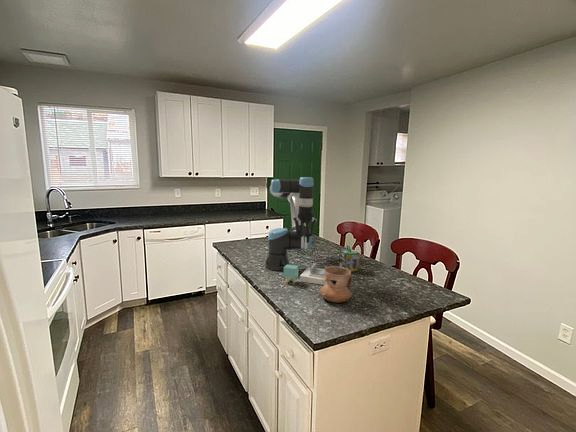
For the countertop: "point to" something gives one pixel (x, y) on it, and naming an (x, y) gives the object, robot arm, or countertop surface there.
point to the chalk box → (349, 259)
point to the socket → (312, 277)
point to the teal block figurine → (290, 273)
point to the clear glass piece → (316, 270)
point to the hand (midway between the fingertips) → (304, 247)
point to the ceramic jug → (336, 284)
